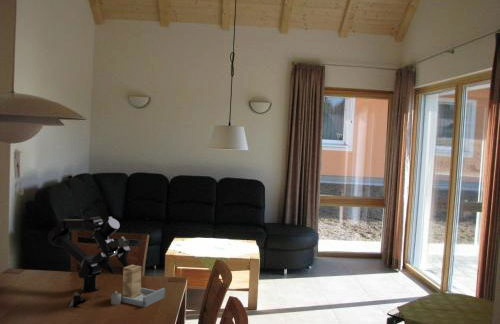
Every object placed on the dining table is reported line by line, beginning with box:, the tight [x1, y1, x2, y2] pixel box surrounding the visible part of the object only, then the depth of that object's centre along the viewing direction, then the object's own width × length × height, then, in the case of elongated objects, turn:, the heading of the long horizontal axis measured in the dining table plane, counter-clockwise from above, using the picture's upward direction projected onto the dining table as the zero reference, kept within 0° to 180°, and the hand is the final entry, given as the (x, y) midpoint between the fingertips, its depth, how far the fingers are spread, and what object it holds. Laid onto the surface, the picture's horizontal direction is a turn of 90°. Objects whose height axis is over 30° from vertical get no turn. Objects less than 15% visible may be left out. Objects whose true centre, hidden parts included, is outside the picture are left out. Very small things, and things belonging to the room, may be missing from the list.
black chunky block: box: [68, 292, 86, 309], centre depth 191 cm, size 12×7×5 cm, turn 14°
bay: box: [110, 287, 166, 308], centre depth 194 cm, size 16×18×6 cm
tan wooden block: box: [121, 264, 143, 299], centre depth 198 cm, size 5×6×13 cm
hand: (120, 270), depth 200 cm, fingers open, 9 cm apart
